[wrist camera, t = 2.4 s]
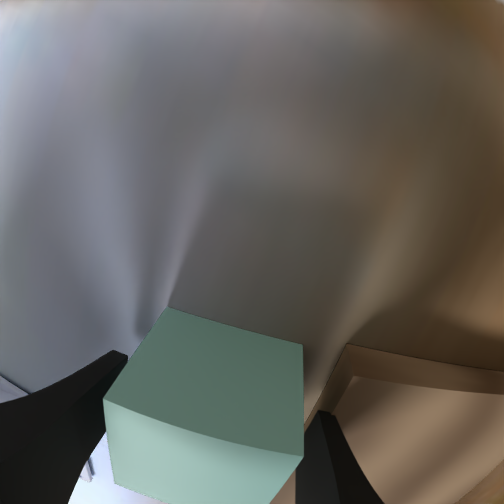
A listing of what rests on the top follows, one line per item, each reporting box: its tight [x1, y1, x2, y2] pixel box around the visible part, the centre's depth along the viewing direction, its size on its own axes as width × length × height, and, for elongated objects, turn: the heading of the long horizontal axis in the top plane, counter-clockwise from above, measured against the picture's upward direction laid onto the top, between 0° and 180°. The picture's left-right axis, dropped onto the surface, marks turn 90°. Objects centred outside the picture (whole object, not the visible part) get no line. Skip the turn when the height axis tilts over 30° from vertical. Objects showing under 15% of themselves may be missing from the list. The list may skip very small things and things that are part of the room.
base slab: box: [269, 344, 504, 504], centre depth 12 cm, size 12×12×2 cm
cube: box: [103, 307, 304, 504], centre depth 10 cm, size 5×5×5 cm
